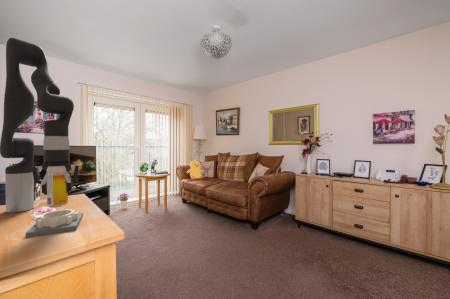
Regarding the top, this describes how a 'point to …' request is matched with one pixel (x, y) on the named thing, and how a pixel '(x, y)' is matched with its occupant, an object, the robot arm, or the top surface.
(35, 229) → the gear socket
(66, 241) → the top surface
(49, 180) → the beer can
